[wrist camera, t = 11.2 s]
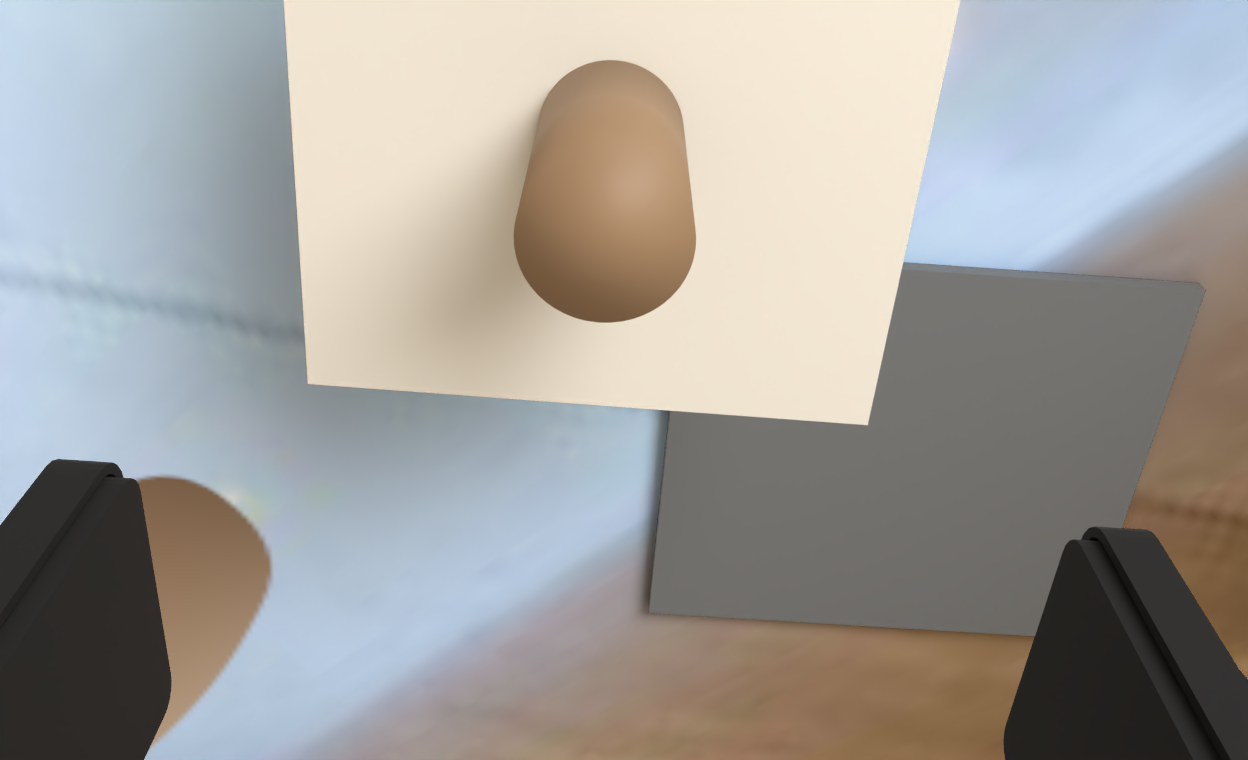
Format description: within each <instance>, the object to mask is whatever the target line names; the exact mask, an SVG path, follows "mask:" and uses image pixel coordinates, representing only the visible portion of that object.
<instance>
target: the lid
mask: <svg viewBox="0 0 1248 760" xmlns="http://www.w3.org/2000/svg"><path fill="white" fill-rule="evenodd" d="M959 5H960V0H284V13H285V29H286V45H287V61H288V77H289V93H290V109H291V125H292V141H293V157H294V173H295V189H296V205H297V221H298V236H299V252H300V268H301V284H302V300H303V316H304V332H305V348H306V364H307V380H308V384H315V385H328V386H342V387H355V388H369V389H383V390H396V391H410V392H423V393H437V394H451V395H464V396H478V397H491V398H505V399H519V400H532V401H546V402H559V403H573V404H587V405H600V406H614V407H627V408H641V409H655V410H668V411H682V412H695V413H709V414H723V415H736V416H750V417H764V418H777V419H791V420H804V421H818V422H832V423H845V424H859V425H868V421H869V417H870V412H871V408H872V403H873V398H874V394H875V389H876V385H877V380H878V376H879V371H880V366H881V362H882V357H883V353H884V348H885V344H886V339H887V334H888V330H889V325H890V321H891V316H892V311H893V307H894V302H895V298H896V293H897V289H898V284H899V279H900V275H901V270H902V266H903V261H904V257H905V252H906V247H907V243H908V238H909V234H910V229H911V225H912V220H913V215H914V211H915V206H916V202H917V197H918V193H919V188H920V183H921V179H922V174H923V170H924V165H925V161H926V156H927V151H928V147H929V142H930V138H931V133H932V128H933V124H934V119H935V115H936V110H937V106H938V101H939V96H940V92H941V87H942V83H943V78H944V74H945V69H946V64H947V60H948V55H949V51H950V46H951V42H952V37H953V32H954V28H955V23H956V19H957V14H958V10H959Z"/></svg>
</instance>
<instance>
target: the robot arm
mask: <svg viewBox="0 0 1248 760" xmlns="http://www.w3.org/2000/svg"><path fill="white" fill-rule="evenodd" d="M170 692H171V672H170V667H169V660H168V655H167V648H166V642H165V636H164V630H163V624H162V618H161V612H160V606H159V600H158V594H157V588H156V582H155V576H154V570H153V564H152V558H151V552H150V545H149V539H148V533H147V527H146V522H145V516H144V509H143V503H142V497H141V491H140V488H139V485H138V483H137V481H136V480H134V479H131V478H123V475H122V471H121V470H120V468H119V467H118V465H116V464H114V463H109V462H94V461H78V460H63V459H57V460H54V461H51V462H50V463H49V464H48V465H47V466H46V467H45V469H44V470H43V471H42V472H41V474H40V475H39V476H38V478H37V479H36V480H35V481H34V483H33V484H32V485H31V487H30V488H29V489H28V490H27V492H26V493H25V494H24V496H23V497H22V498H21V499H20V501H19V502H18V503H17V505H16V506H15V507H14V508H13V510H12V511H11V512H10V514H9V515H8V516H7V517H6V519H5V520H4V521H3V523H2V524H1V525H0V760H144V758H145V756H146V754H147V752H148V750H149V748H150V745H151V743H152V741H153V739H154V737H155V735H156V733H157V731H158V728H159V726H160V724H161V722H162V720H163V718H164V715H165V713H166V710H167V707H168V704H169V700H170ZM1004 753H1005V760H1248V680H1247V678H1246V677H1245V676H1244V675H1243V674H1242V672H1241V671H1240V670H1239V669H1238V667H1237V665H1236V664H1235V662H1234V660H1233V659H1232V657H1231V656H1230V654H1229V652H1228V651H1227V649H1226V648H1225V646H1224V644H1223V643H1222V641H1221V640H1220V638H1219V636H1218V635H1217V633H1216V632H1215V630H1214V628H1213V627H1212V625H1211V623H1210V622H1209V620H1208V619H1207V617H1206V615H1205V614H1204V612H1203V611H1202V609H1201V607H1200V606H1199V604H1198V603H1197V601H1196V599H1195V598H1194V596H1193V595H1192V593H1191V591H1190V590H1189V588H1188V587H1187V585H1186V583H1185V582H1184V580H1183V578H1182V577H1181V575H1180V574H1179V572H1178V570H1177V569H1176V567H1175V566H1174V564H1173V562H1172V561H1171V559H1170V558H1169V556H1168V554H1167V553H1166V551H1165V550H1164V548H1163V546H1162V545H1161V543H1160V542H1159V540H1158V538H1157V537H1156V536H1155V535H1154V534H1153V533H1152V532H1150V531H1148V530H1141V529H1126V528H1110V527H1095V526H1094V527H1091V528H1088V530H1087V531H1086V532H1085V533H1084V534H1083V536H1082V539H1081V540H1076V539H1073V540H1070V541H1069V542H1068V543H1067V544H1066V545H1065V548H1064V550H1063V552H1062V555H1061V558H1060V561H1059V565H1058V568H1057V571H1056V574H1055V577H1054V580H1053V583H1052V586H1051V589H1050V592H1049V595H1048V598H1047V601H1046V604H1045V607H1044V610H1043V613H1042V616H1041V620H1040V623H1039V626H1038V629H1037V632H1036V635H1035V638H1034V641H1033V644H1032V647H1031V650H1030V653H1029V656H1028V659H1027V662H1026V665H1025V668H1024V672H1023V675H1022V678H1021V681H1020V684H1019V687H1018V690H1017V693H1016V696H1015V699H1014V702H1013V705H1012V708H1011V711H1010V714H1009V717H1008V720H1007V723H1006V727H1005V732H1004Z"/></svg>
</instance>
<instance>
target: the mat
mask: <svg viewBox="0 0 1248 760" xmlns="http://www.w3.org/2000/svg"><path fill="white" fill-rule="evenodd" d="M1205 291H1206V290H1205V289H1204V288H1203V287H1202V286H1201V285H1200V284H1199V283H1191V282H1177V281H1163V280H1148V279H1134V278H1119V277H1105V276H1091V275H1076V274H1062V273H1047V272H1033V271H1019V270H1004V269H990V268H975V267H961V266H947V265H932V264H918V263H903V266H902V270H901V275H900V279H899V284H898V289H897V293H896V298H895V302H894V307H893V311H892V316H891V321H890V325H889V330H888V334H887V339H886V344H885V348H884V353H883V357H882V362H881V366H880V371H879V376H878V380H877V385H876V389H875V394H874V398H873V403H872V408H871V412H870V417H869V421H868V425H859V424H845V423H832V422H818V421H804V420H791V419H777V418H764V417H750V416H736V415H723V414H709V413H695V412H682V411H669V418H668V427H667V437H666V446H665V455H664V465H663V474H662V483H661V493H660V502H659V512H658V521H657V530H656V540H655V549H654V559H653V568H652V577H651V587H650V596H649V613H658V614H674V615H691V616H707V617H724V618H740V619H757V620H773V621H790V622H806V623H823V624H839V625H856V626H873V627H889V628H906V629H922V630H939V631H955V632H972V633H988V634H1005V635H1021V636H1035V635H1036V632H1037V629H1038V626H1039V623H1040V620H1041V616H1042V613H1043V610H1044V607H1045V604H1046V601H1047V598H1048V595H1049V592H1050V589H1051V586H1052V583H1053V580H1054V577H1055V574H1056V571H1057V568H1058V565H1059V561H1060V558H1061V555H1062V552H1063V550H1064V548H1065V545H1066V544H1067V543H1068V542H1069V541H1070V540H1073V539H1076V540H1081V539H1082V536H1083V534H1084V533H1085V532H1086V531H1087V530H1088V528H1091V527H1094V526H1095V527H1110V528H1122V526H1123V523H1124V520H1125V518H1126V515H1127V512H1128V509H1129V506H1130V503H1131V501H1132V498H1133V495H1134V492H1135V489H1136V486H1137V484H1138V481H1139V478H1140V475H1141V472H1142V469H1143V467H1144V464H1145V461H1146V458H1147V455H1148V452H1149V450H1150V447H1151V444H1152V441H1153V438H1154V436H1155V433H1156V430H1157V427H1158V424H1159V421H1160V419H1161V416H1162V413H1163V410H1164V407H1165V404H1166V402H1167V399H1168V396H1169V393H1170V390H1171V387H1172V385H1173V382H1174V379H1175V376H1176V373H1177V371H1178V368H1179V365H1180V362H1181V359H1182V356H1183V354H1184V351H1185V348H1186V345H1187V342H1188V339H1189V337H1190V334H1191V331H1192V328H1193V325H1194V322H1195V320H1196V317H1197V314H1198V311H1199V308H1200V306H1201V303H1202V300H1203V297H1204V294H1205Z"/></svg>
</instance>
